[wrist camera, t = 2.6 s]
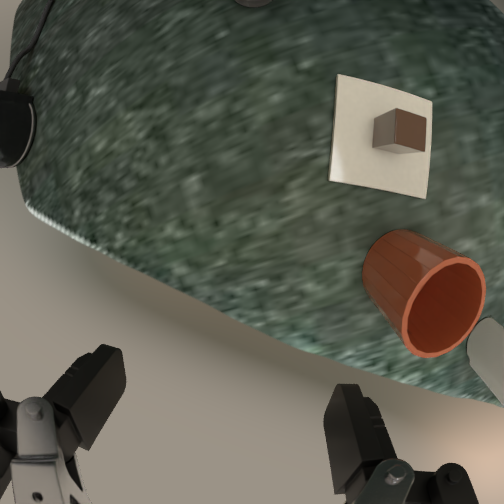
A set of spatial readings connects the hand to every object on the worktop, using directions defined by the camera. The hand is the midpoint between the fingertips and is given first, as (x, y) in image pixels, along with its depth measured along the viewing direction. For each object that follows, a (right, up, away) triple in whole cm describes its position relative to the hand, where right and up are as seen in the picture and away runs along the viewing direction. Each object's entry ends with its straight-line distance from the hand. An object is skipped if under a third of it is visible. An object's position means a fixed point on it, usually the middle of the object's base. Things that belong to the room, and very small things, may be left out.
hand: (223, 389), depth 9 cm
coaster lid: (+14, +16, +14) cm, 25 cm away
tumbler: (+16, +3, +18) cm, 24 cm away
